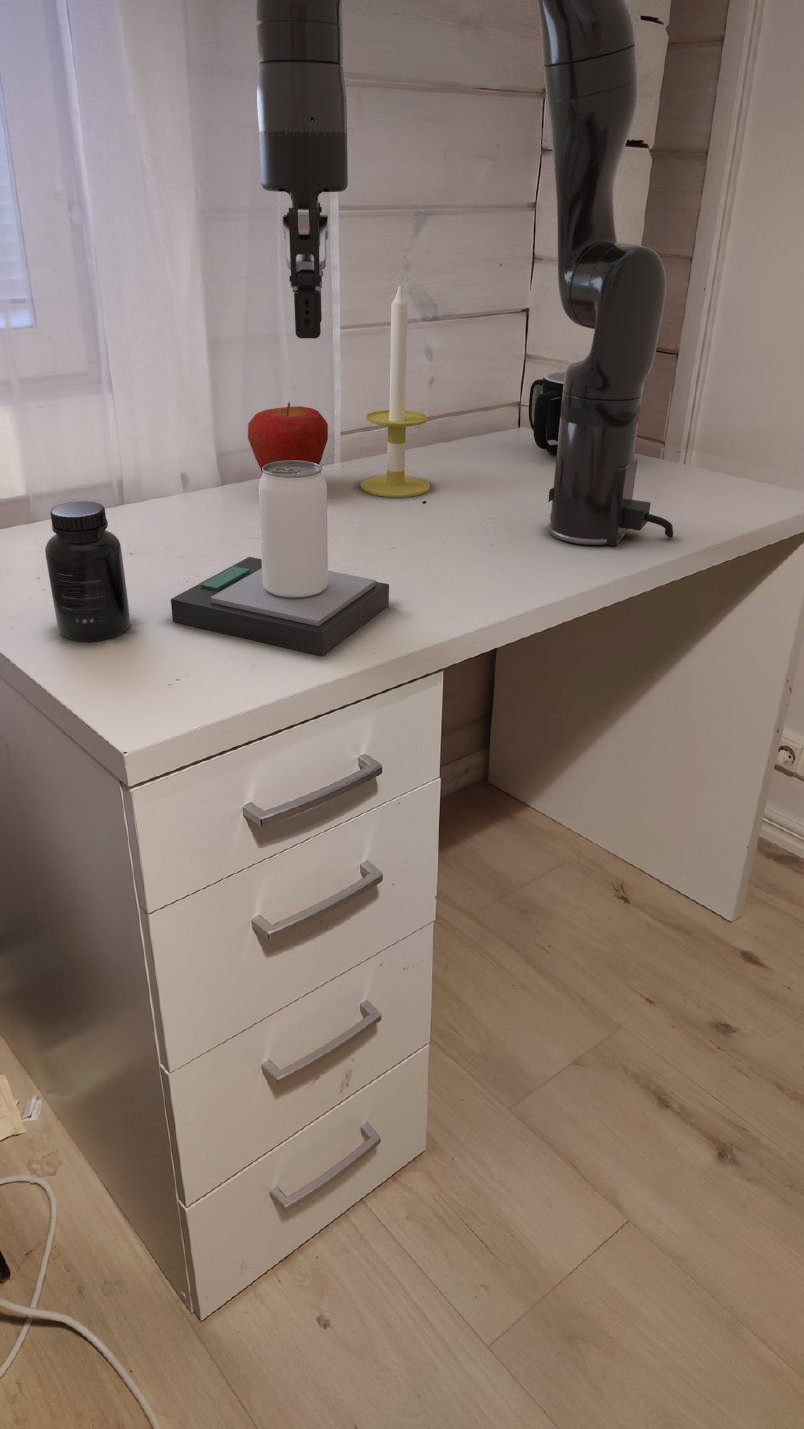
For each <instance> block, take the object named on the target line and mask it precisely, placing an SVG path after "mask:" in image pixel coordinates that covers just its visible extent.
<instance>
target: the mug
mask: <svg viewBox="0 0 804 1429" xmlns="http://www.w3.org/2000/svg"><path fill="white" fill-rule="evenodd" d="M565 372H566V370H558V371H552V372H548V373H545V374H544V375H543V377H542V378H541V379H540V378H539V379H536V380H534V381H533V382H532V383H531V385H530V389H529V399H528V421H529V425H530V428H531V430H532V432H533V438H534V443H535V444H536V446H537V447H538V448H540V449H542V450H544V451H546V452H547V453H548V454H549V455H550V456H554V457H556V456H557V446H558V436H559V426H560V417H561V406H562V395H563V385H564V376H565Z"/></svg>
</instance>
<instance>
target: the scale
mask: <svg viewBox="0 0 804 1429" xmlns="http://www.w3.org/2000/svg"><path fill="white" fill-rule="evenodd" d="M389 601H390V583H385V582H380V581H377V580H376V579H372V578H367V577H363V576H357V575H353V574H347V573H341V572H337V571H331V570H328V585H327V587H326V588H325V589H324V591H323V592H322V593H320V594H318V595H316V596H313V597H308V598H301V599H288V598H281V597H277V596H274V595H272V594H270V593H269V592H268V591H267V590H266V589H265V588H264V586H263V578H262V558H258V557H254V556H253V557H252V556H248V557H246V558H244V559H242V560H241V561H238V562H237V563H235V564H233V565H231V566H229V567H227V568H226V569H224V570H222V571H220V572H218V573H217V574H215V575H213V576H211V577H209V578H207V579H205V580H203V581H202V582H200V583H198V584H196V585H194V586H192V587H191V588H188V589H187V590H184V591H183V592H181V593H180V594H178V595H176V596H174V597H172V598H170V607H171V618H172V622H173V623H178V624H182V625H187V626H191V627H195V628H199V629H204V630H207V631H213V632H216V633H222V634H225V635H229V636H235V637H237V638H238V637H239V638H242V639H246V640H251V641H256V642H260V643H264V644H268V645H273V646H276V647H277V646H278V647H282V648H286V649H290V650H294V651H298V652H303V653H307V654H312V655H316V656H319V657H320V656H321V657H324V656H326V654H328V653H329V652H330V651H332V650H333V649H334V648H335V647H337V646H338V645H339V644H340V643H342V642H343V641H344V640H345V639H347V638H349V637H350V636H351V635H352V634H354V633H355V632H357V630H359V629H360V628H362V627H364V625H365V624H367V623H368V622H370V620H373V619H374V618H375V617H376V616H377V615H379V614H380V613H381V612H383V611H384V610H385V609H386V608H387V607H389V606H390V602H389Z"/></svg>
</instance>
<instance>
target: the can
mask: <svg viewBox="0 0 804 1429" xmlns="http://www.w3.org/2000/svg"><path fill="white" fill-rule="evenodd" d="M262 471H263V473H262V475H261V477H260V479H259V482H258V507H259V508H258V510H259V514H258V516H259V534H260V535H259V536H260V537H259V538H260V553H261V554H260V557H261V558H260V559H262V578H263V586H264V588H265V589H266V590H267V591H268V592H269V593H270V594H272V595H274V596H277V597H281V598H288V599H301V598H308V597H313V596H316V595H318V594H320V593H322V592H323V591H324V589H325V588H326V587H327V585H328V571H329V551H328V548H329V547H328V542H329V541H328V540H329V538H328V537H329V536H328V488H327V481H326V479H325V477H324V475H323V473H322V471H323V467H322V465H320V464H319V465H318V464H316V463H313V462H308V461H298V460H287V461H277V462H272V463H268V464H266V465H264V466H263V467H262ZM262 471H261V472H262Z"/></svg>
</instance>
